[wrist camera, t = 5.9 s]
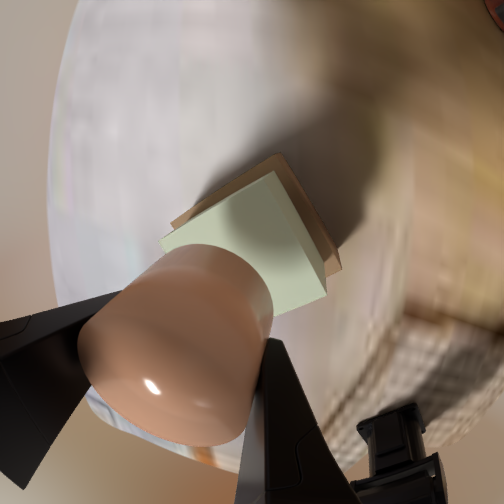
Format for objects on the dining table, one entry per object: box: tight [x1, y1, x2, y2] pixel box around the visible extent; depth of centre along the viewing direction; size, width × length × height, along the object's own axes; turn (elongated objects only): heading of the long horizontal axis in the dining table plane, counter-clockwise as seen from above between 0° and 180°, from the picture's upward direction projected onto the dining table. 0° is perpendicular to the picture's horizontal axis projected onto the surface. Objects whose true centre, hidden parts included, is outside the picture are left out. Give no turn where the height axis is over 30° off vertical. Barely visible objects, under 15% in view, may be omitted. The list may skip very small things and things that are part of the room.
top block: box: [158, 171, 327, 317], centre depth 14 cm, size 6×6×4 cm
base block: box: [170, 152, 342, 277], centre depth 17 cm, size 7×7×4 cm
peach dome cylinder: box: [77, 244, 274, 447], centre depth 8 cm, size 4×4×4 cm
